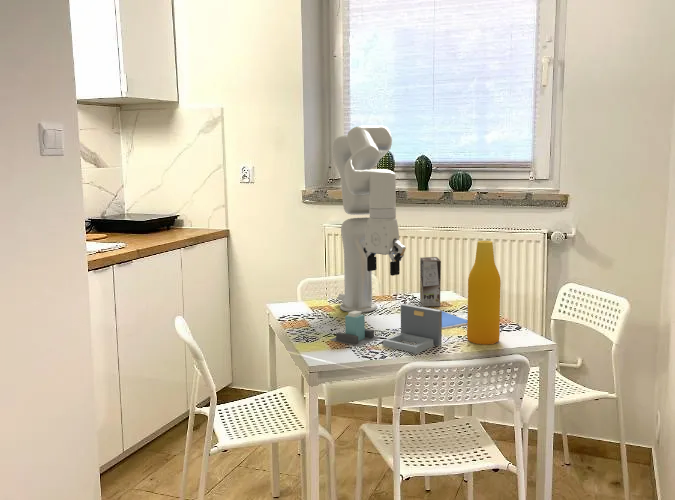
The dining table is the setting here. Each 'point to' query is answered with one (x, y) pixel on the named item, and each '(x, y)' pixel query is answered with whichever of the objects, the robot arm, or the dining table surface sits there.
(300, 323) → the dining table surface
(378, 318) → the dining table surface
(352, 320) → the plug
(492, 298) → the beer bottle
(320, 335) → the dining table surface
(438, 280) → the coffee box
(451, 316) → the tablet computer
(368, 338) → the grey ridged plate
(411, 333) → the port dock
